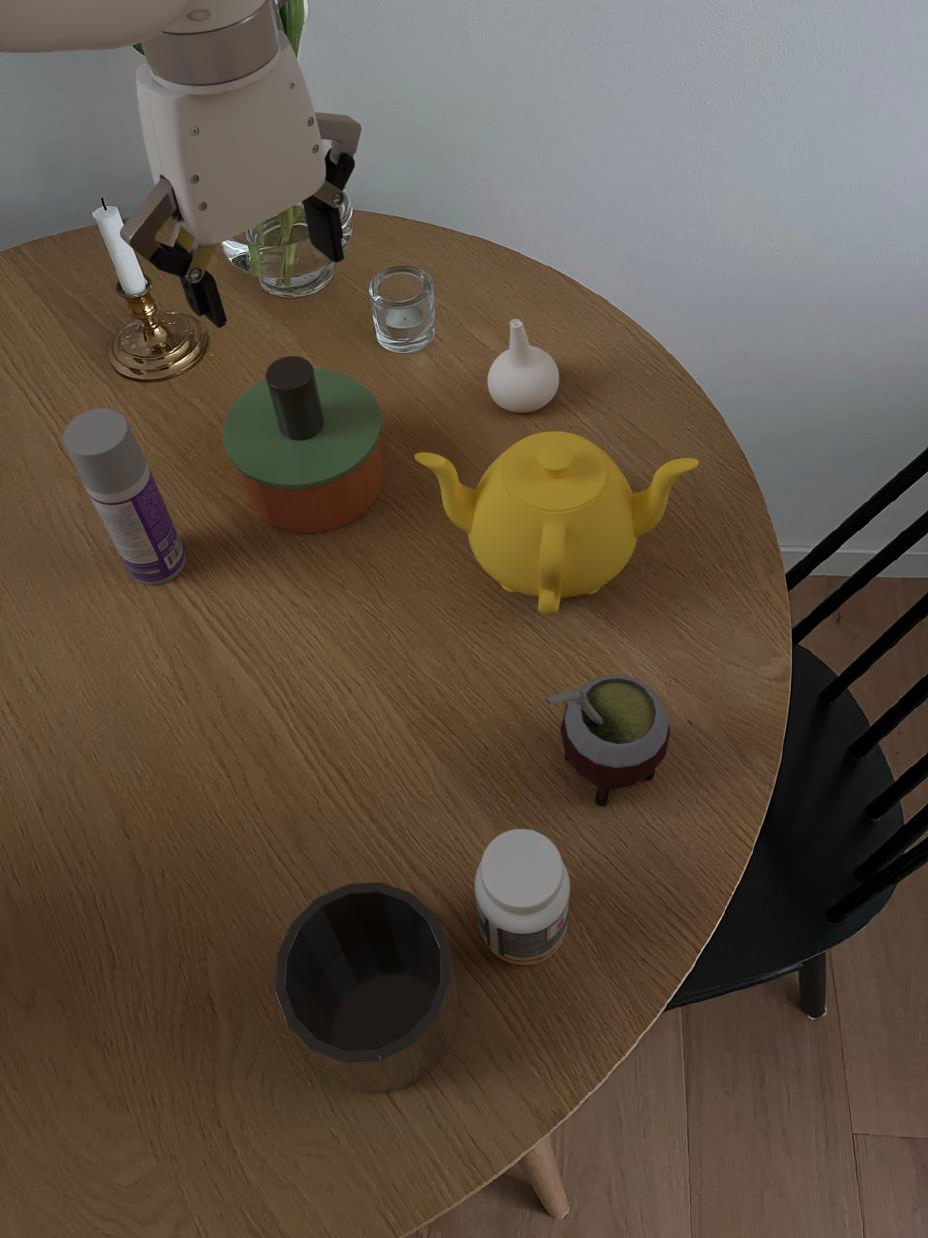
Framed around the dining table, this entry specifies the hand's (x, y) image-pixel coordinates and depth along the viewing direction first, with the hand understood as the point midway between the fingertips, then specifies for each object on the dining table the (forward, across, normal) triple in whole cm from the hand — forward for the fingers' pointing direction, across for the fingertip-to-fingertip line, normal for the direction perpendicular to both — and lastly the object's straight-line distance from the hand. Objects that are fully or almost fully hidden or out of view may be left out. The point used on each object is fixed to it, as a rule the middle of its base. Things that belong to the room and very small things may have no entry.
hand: (270, 283), depth 73 cm
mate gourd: (+20, +1, +36) cm, 41 cm away
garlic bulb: (+20, -19, +4) cm, 28 cm away
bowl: (+20, 0, 0) cm, 20 cm away
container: (+20, +15, -1) cm, 25 cm away
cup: (+20, +22, +38) cm, 48 cm away
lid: (+14, 0, 0) cm, 14 cm away
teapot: (+20, -9, +20) cm, 30 cm away
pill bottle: (+20, +12, +40) cm, 46 cm away
